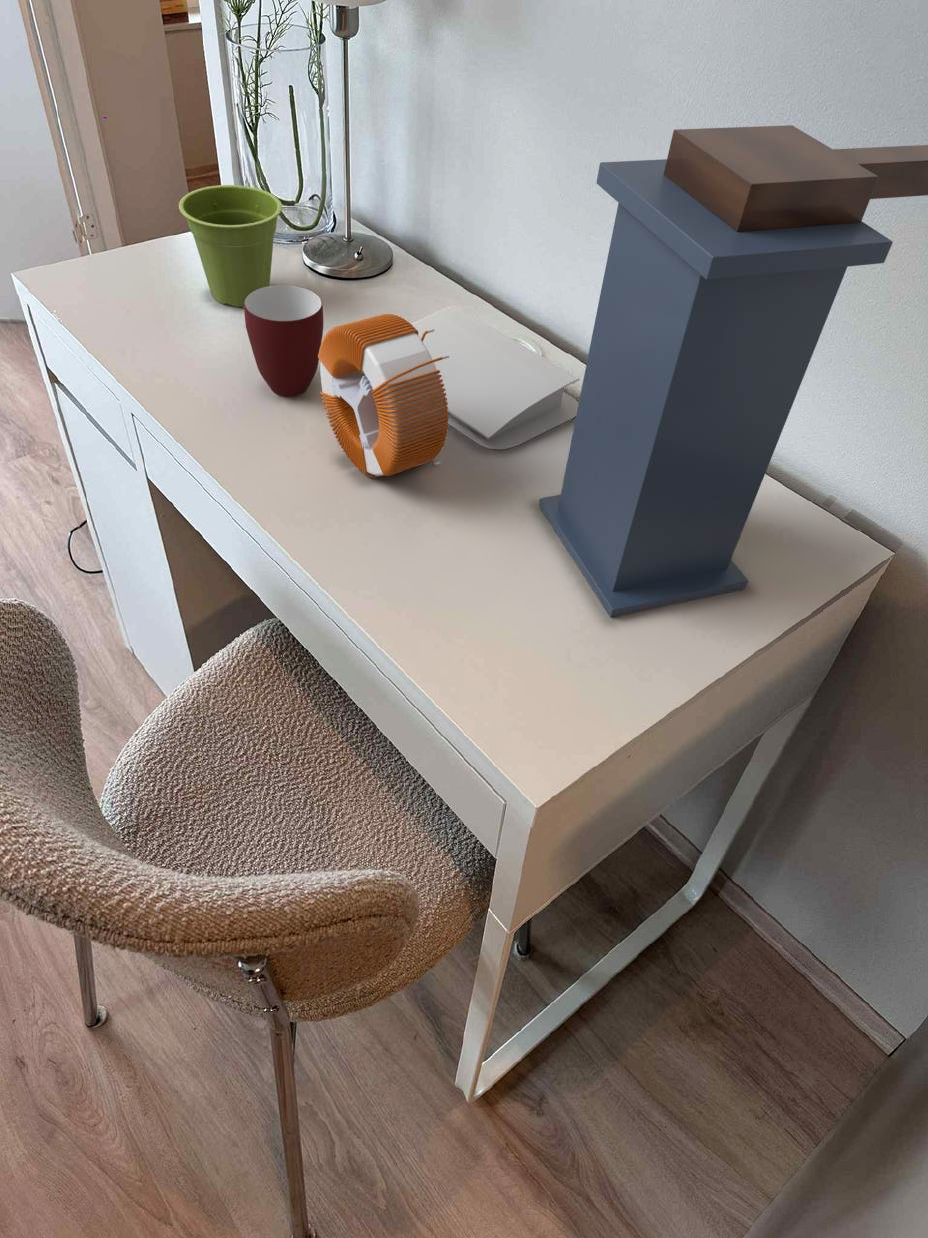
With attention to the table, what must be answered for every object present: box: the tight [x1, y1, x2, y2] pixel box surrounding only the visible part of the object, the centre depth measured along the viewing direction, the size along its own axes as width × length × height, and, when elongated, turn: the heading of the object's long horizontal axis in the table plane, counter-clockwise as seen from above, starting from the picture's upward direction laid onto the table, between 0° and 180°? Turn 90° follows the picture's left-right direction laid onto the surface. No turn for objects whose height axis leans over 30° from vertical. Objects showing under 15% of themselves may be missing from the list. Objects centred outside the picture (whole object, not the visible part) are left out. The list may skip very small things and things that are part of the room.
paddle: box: [664, 124, 928, 232], centre depth 63 cm, size 24×10×3 cm, turn 110°
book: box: [410, 304, 580, 451], centre depth 101 cm, size 15×23×4 cm, turn 43°
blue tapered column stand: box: [538, 158, 894, 618], centre depth 73 cm, size 14×16×32 cm
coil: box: [318, 313, 449, 478], centre depth 86 cm, size 7×15×15 cm, turn 36°
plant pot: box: [178, 184, 283, 308], centre depth 109 cm, size 12×12×11 cm
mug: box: [243, 284, 324, 398], centre depth 96 cm, size 11×8×10 cm
